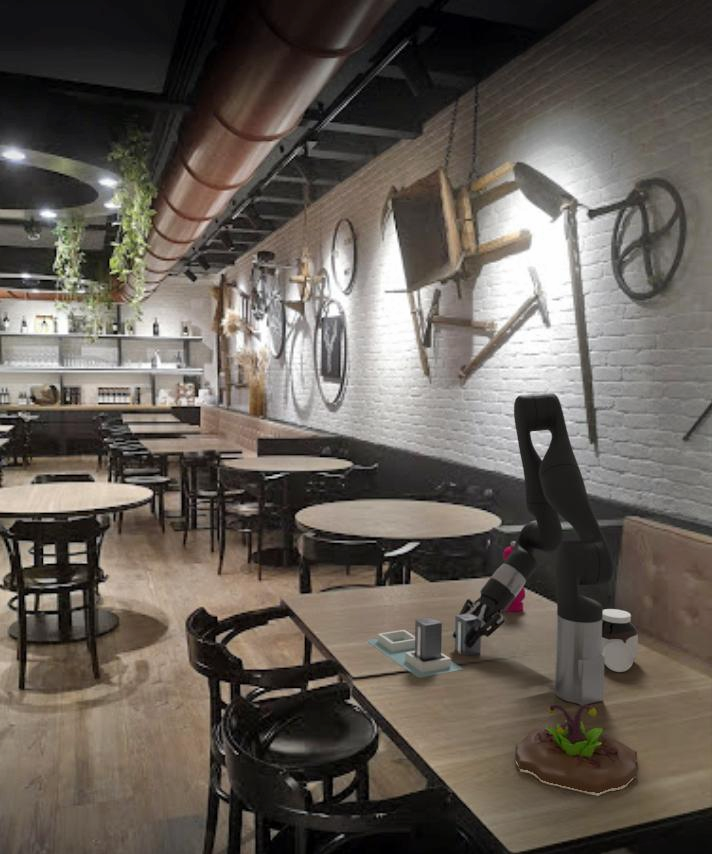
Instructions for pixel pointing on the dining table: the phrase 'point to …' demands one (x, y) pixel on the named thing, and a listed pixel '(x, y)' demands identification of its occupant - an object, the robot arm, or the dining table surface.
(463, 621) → the loose billet
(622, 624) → the spread jar
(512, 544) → the pepper mill
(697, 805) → the dining table surface
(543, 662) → the dining table surface
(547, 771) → the plant
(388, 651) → the pallet
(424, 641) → the seated billet
